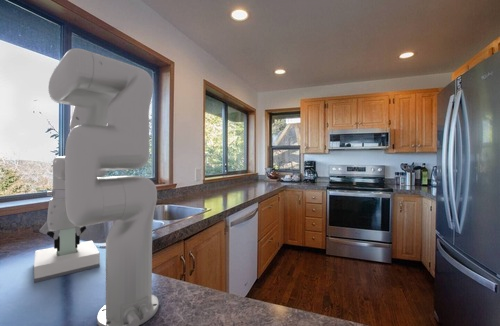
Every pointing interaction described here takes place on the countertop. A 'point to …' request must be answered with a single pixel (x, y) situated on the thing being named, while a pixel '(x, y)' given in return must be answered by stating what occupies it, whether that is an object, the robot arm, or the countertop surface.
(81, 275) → the countertop surface
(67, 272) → the block
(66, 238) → the pale green block
